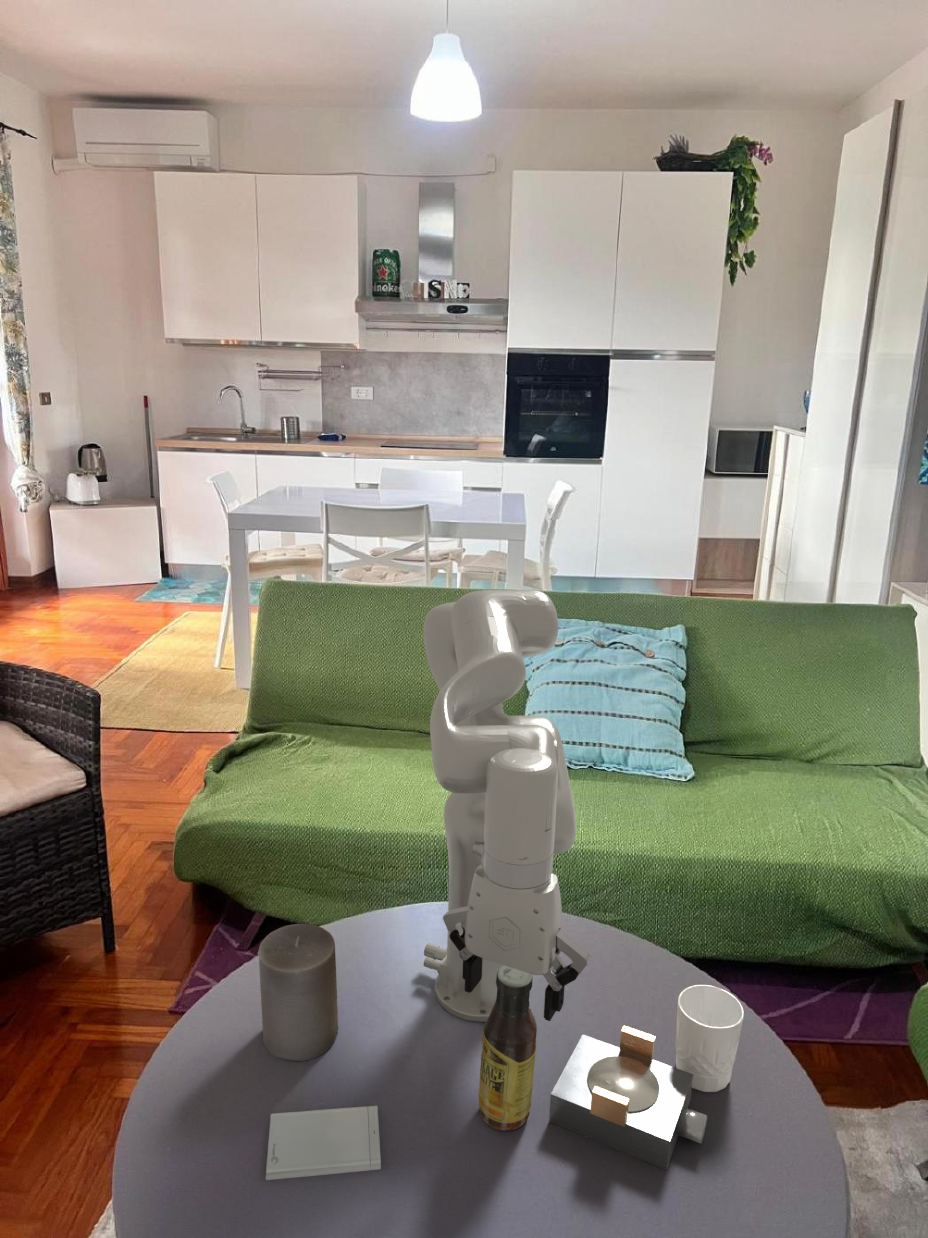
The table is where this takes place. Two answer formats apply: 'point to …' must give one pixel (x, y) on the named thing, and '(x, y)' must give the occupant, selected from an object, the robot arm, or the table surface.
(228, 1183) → the table surface
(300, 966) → the pillar candle
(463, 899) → the robot arm
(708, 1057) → the white cup
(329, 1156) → the hard drive
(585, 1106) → the block
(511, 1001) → the sauce bottle
